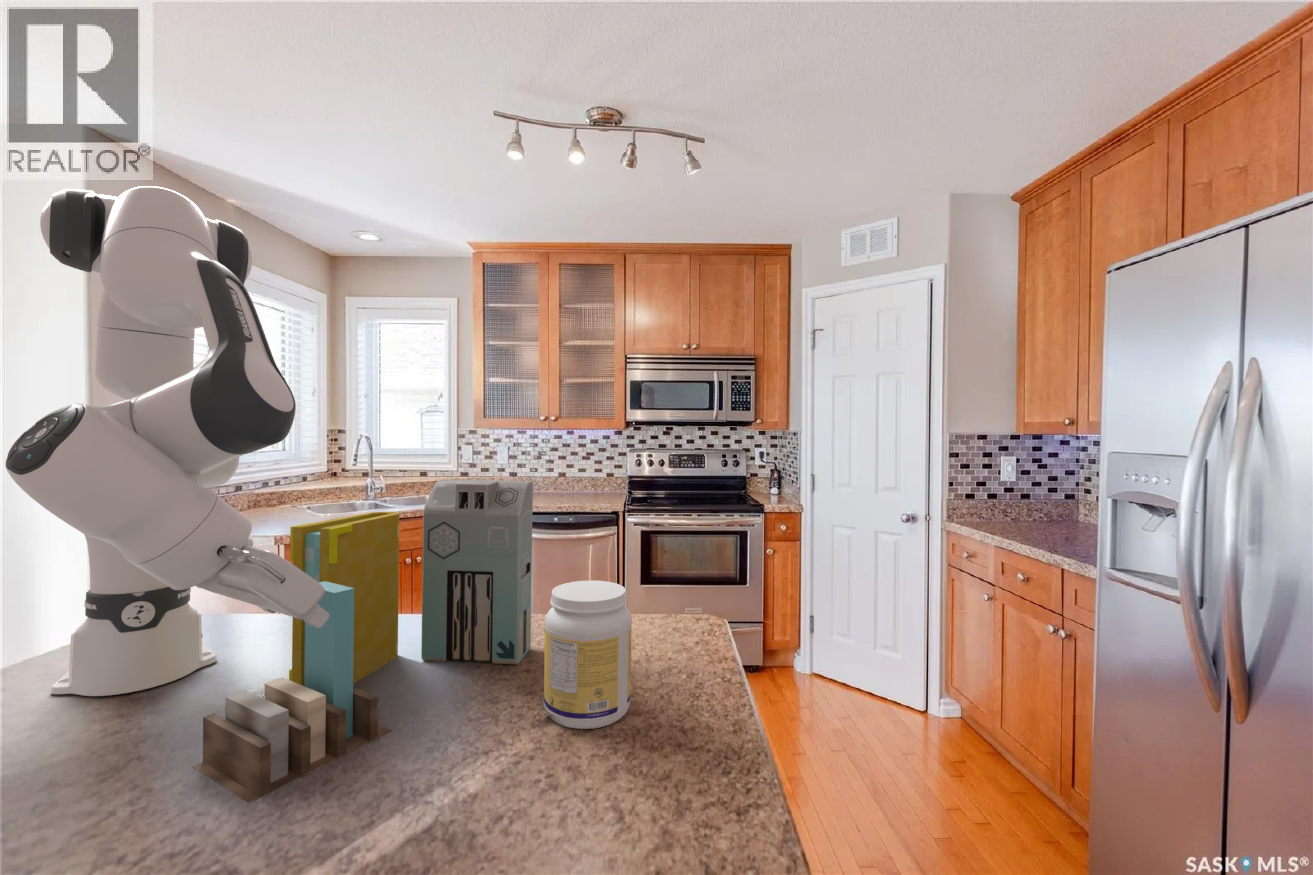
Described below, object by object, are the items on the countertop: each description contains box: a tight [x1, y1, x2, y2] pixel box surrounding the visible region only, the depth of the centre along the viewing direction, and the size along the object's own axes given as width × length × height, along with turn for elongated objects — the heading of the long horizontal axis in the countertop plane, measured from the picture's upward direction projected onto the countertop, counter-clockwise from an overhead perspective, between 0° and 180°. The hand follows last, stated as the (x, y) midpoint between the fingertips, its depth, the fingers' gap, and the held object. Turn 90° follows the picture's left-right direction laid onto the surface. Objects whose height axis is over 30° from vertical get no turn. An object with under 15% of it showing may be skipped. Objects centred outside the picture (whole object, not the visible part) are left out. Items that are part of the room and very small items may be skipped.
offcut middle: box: [263, 676, 326, 764], centre depth 66 cm, size 9×2×7 cm, turn 61°
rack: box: [191, 686, 393, 804], centre depth 66 cm, size 12×16×6 cm
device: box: [420, 478, 534, 666], centre depth 98 cm, size 16×8×30 cm, turn 87°
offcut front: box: [224, 689, 289, 783], centre depth 62 cm, size 9×2×7 cm, turn 61°
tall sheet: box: [305, 581, 354, 739], centre depth 69 cm, size 6×2×18 cm, turn 61°
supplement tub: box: [543, 580, 633, 730], centre depth 79 cm, size 12×12×17 cm
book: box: [288, 511, 400, 686], centre depth 87 cm, size 17×7×25 cm, turn 168°
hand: (298, 613), depth 66 cm, fingers open, 8 cm apart
